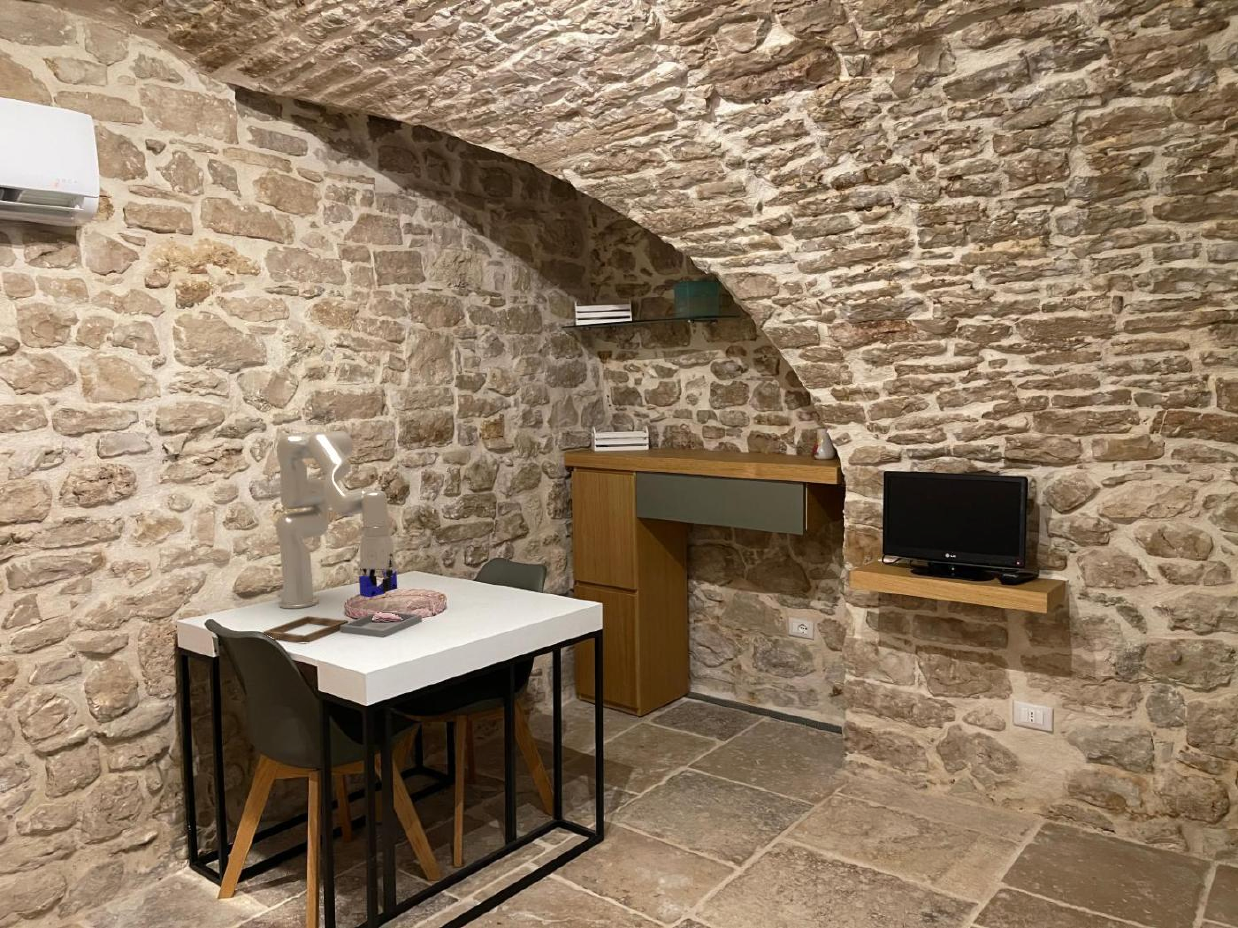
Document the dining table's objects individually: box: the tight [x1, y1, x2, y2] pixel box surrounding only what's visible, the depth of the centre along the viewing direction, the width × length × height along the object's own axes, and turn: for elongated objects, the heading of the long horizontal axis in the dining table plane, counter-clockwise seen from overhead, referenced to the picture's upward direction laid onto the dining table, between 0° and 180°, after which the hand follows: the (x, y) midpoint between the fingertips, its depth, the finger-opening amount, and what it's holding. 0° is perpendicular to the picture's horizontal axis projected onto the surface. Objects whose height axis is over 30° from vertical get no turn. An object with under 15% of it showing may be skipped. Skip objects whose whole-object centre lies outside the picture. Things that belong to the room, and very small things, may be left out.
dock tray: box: [340, 610, 423, 638], centre depth 293 cm, size 16×18×2 cm
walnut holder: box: [262, 615, 349, 643], centre depth 289 cm, size 16×18×2 cm
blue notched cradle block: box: [358, 570, 398, 598], centre depth 292 cm, size 12×4×6 cm, turn 144°
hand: (380, 589), depth 292 cm, fingers closed on blue notched cradle block, 4 cm apart
